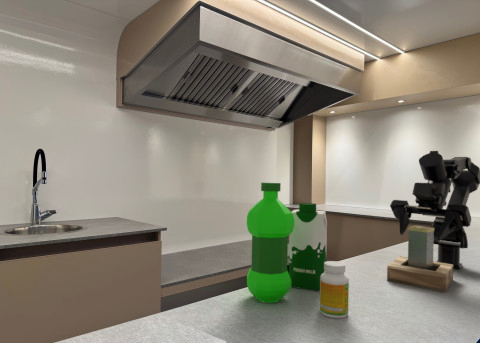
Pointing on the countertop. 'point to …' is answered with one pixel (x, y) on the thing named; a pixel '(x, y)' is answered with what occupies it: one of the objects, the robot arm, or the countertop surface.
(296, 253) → the milk carton
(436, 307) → the countertop surface
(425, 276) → the caddy
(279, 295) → the plastic bottle
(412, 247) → the tea canister
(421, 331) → the countertop surface
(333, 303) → the supplement bottle
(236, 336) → the countertop surface
